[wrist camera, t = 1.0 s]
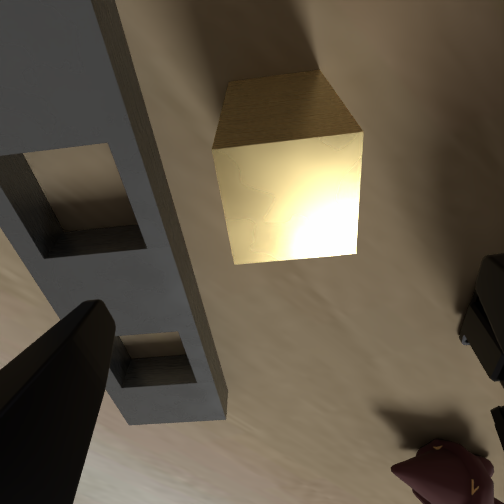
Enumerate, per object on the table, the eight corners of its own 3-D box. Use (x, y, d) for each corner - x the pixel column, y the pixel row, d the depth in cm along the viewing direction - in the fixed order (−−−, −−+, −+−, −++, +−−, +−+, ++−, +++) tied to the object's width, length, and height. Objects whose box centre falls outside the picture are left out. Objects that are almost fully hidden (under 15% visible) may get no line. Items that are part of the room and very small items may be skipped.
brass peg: (319, 69, 16) (363, 131, 9) (320, 156, 18) (355, 253, 12) (228, 81, 16) (212, 149, 10) (241, 165, 18) (234, 264, 12)
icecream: (366, 519, 31) (471, 531, 37) (441, 521, 26) (551, 535, 32) (356, 432, 36) (453, 455, 41) (420, 419, 30) (520, 447, 36)
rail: (109, -16, 14) (85, -15, 12) (228, 390, 31) (226, 419, 29) (-81, 14, 15) (-134, 20, 13) (136, 396, 31) (128, 425, 29)
